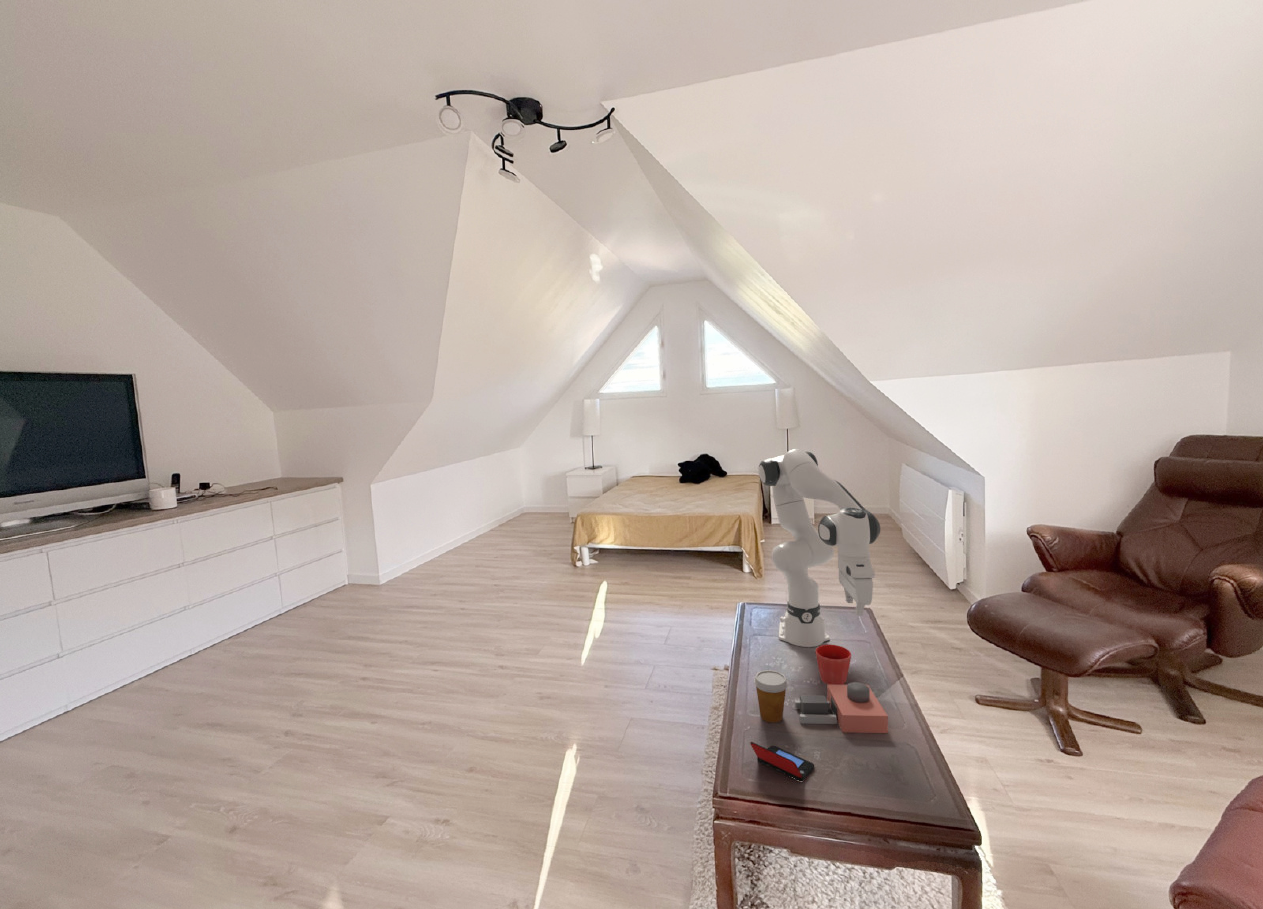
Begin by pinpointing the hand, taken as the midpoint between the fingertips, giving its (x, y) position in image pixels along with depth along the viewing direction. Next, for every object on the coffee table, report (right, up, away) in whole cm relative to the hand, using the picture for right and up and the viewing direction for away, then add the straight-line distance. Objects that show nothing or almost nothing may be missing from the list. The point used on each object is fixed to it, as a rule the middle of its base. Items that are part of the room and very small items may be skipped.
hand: (854, 608), depth 160 cm
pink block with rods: (-7, -30, -4) cm, 31 cm away
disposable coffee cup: (-26, -31, -3) cm, 40 cm away
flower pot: (0, -28, +15) cm, 32 cm away
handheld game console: (-29, -34, -25) cm, 51 cm away
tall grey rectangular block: (-13, -30, -3) cm, 33 cm away
